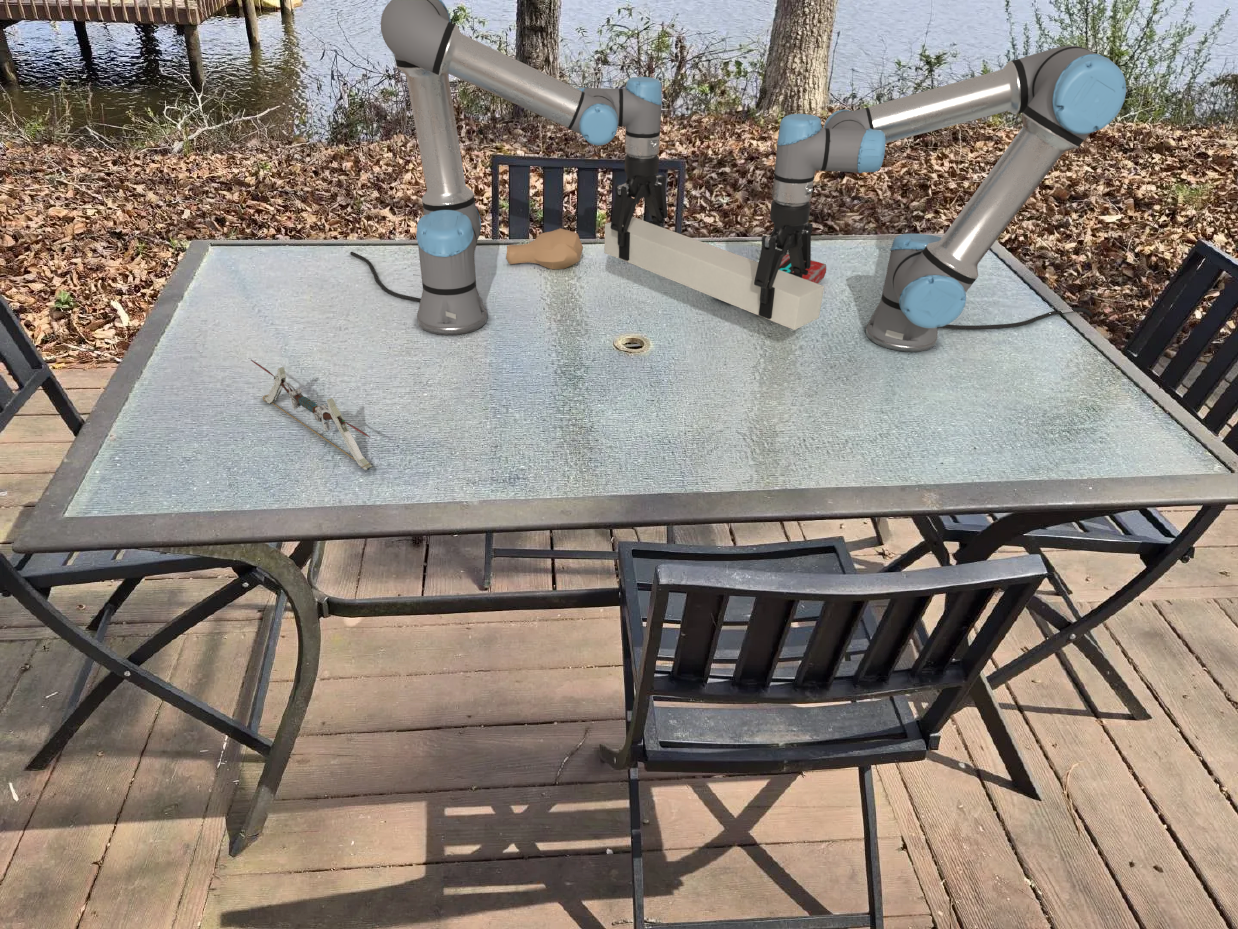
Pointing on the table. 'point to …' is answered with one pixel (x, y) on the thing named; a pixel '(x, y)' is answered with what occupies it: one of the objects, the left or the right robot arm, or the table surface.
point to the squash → (548, 250)
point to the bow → (316, 413)
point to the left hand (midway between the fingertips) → (638, 254)
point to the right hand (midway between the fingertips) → (778, 309)
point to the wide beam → (716, 272)
